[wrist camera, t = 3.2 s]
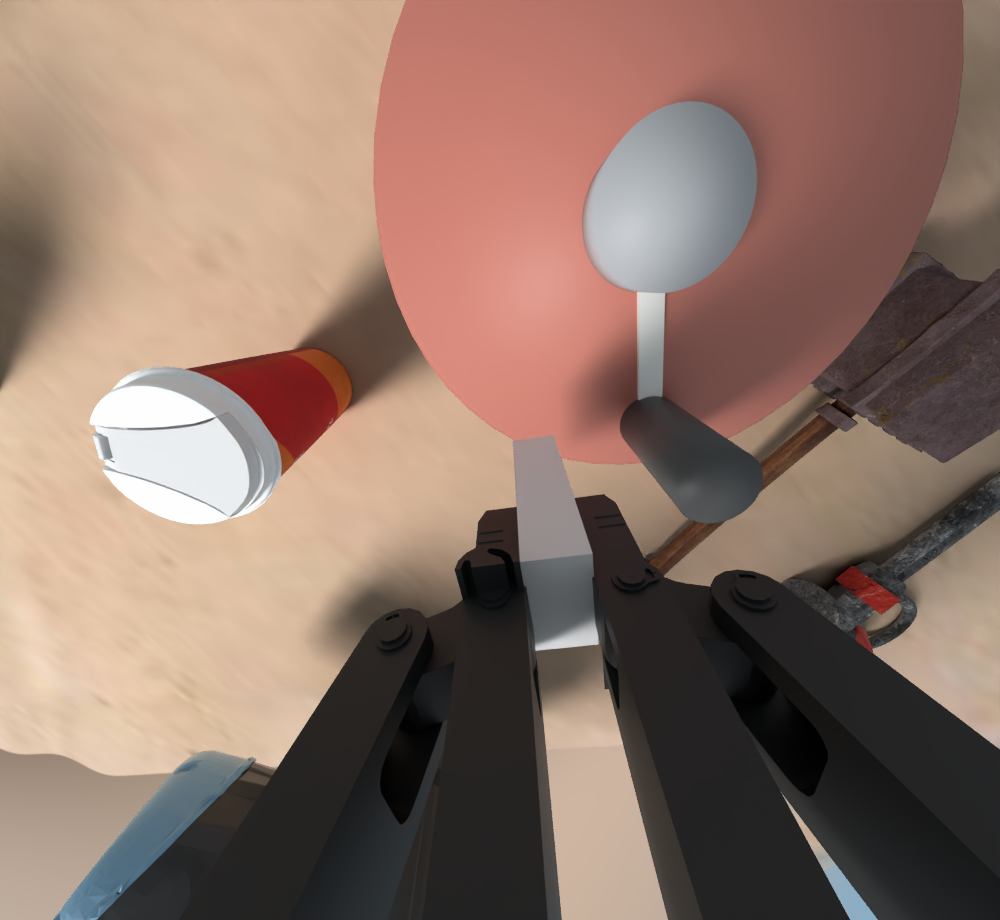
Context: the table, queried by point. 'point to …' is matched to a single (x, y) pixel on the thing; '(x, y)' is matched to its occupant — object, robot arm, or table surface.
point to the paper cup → (216, 430)
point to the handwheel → (655, 209)
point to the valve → (895, 572)
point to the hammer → (904, 377)
